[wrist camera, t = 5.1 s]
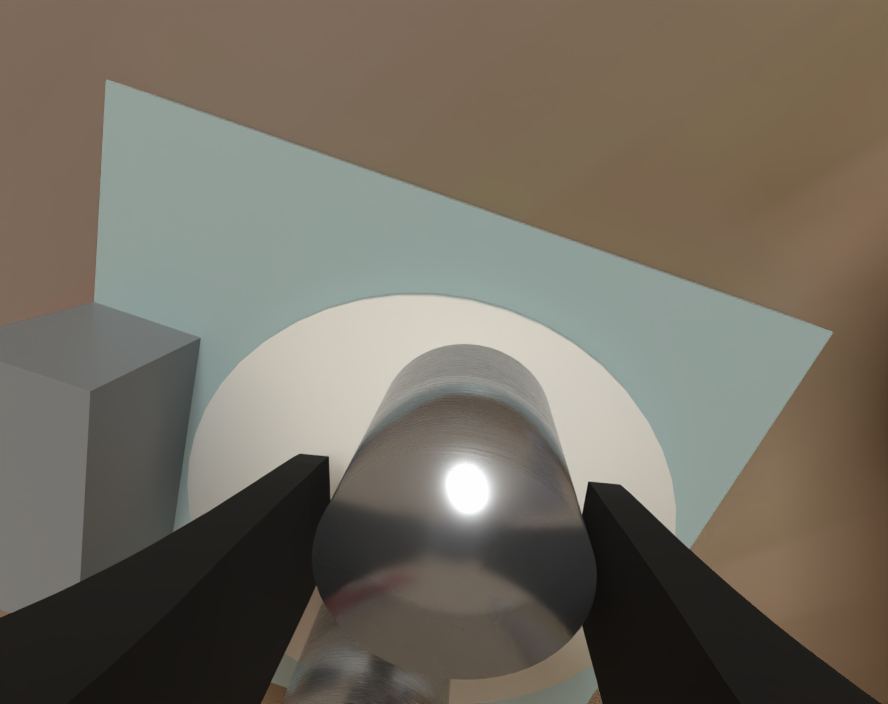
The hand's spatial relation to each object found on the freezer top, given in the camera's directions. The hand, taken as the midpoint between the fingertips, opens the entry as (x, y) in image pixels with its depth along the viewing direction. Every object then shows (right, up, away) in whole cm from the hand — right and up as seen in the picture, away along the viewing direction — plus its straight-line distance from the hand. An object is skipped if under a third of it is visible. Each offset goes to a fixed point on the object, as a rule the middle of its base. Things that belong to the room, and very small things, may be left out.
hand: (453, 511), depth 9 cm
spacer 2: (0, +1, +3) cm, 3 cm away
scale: (-2, -1, +6) cm, 6 cm away
